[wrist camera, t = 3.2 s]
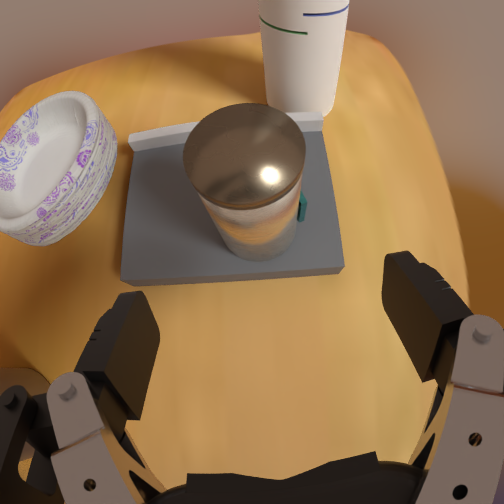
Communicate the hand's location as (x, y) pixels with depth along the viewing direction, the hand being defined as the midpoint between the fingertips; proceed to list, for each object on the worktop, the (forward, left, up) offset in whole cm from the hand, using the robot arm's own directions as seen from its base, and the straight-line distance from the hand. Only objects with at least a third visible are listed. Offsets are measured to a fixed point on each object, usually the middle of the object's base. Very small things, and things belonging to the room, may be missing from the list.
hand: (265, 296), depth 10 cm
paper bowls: (-21, +14, -14) cm, 29 cm away
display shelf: (-3, +10, -14) cm, 17 cm away
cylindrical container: (+5, +22, -14) cm, 27 cm away
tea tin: (-1, +7, -12) cm, 14 cm away
